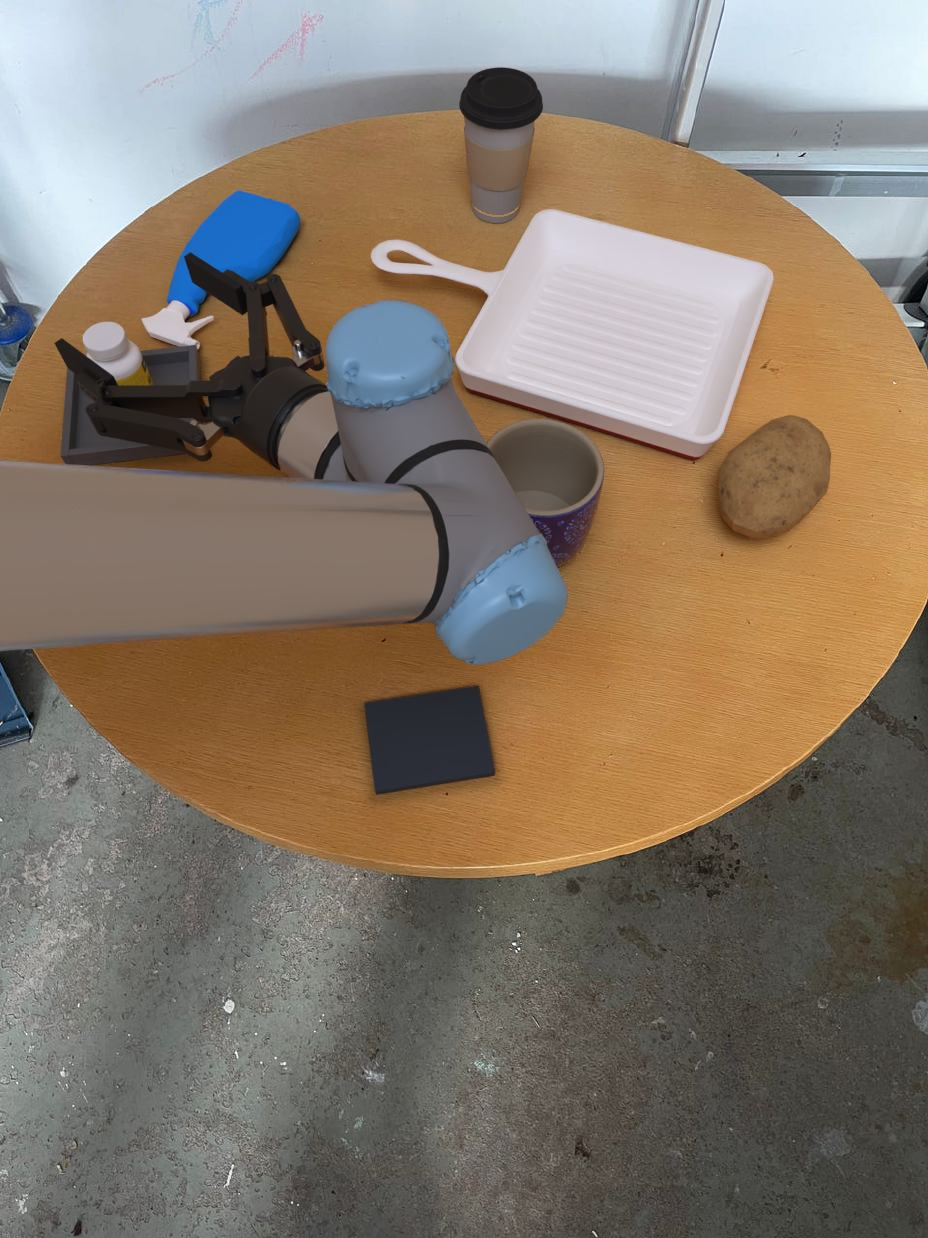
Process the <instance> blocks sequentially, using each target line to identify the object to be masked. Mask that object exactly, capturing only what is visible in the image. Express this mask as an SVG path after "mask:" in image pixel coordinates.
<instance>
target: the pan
mask: <svg viewBox="0 0 928 1238" xmlns="http://www.w3.org/2000/svg"><path fill="white" fill-rule="evenodd" d="M395 251H402V252H405V253H407V254H409V255H411V256H412V257H414V258H416V259H418V260H420V261H421V262H423V263H426V264H421V263H420V264H419V263H408V262H407V263H406V262H396V261H392V260H390V259H389V258H388V254H389V253H391V252H395ZM370 258H371V262H372V263H373V264H374V265H375V267H377V268H379V269H380V270H383V271H385V272H388V273H390V274H391V273H392V274H396V275H415V276H416V275H417V276H430V277H431V276H433V277H437V278H441V279H446V280H450V281H453V282H457V283H460V284H464V285H467V286H471V287H475V288H478V289H480V290H481V291H483V292H484V294H485V295H487V298H486V299H485V302H484V304H483V306H482V307H481V309H480V310H479V312H478V313H477V316H476V318H475V320H474V321H473V324H471V326H470V328H469V330H468V332H467V334H466V335H465V337H464V338H463V341H462V343H461V344H460V346H459V348H458V349H457V352H456V353H455V358H454V363H455V366H456V368H457V370H458V373H459V376H460V378H461V381H462V384H463V386H464V388H465V389H466V390H467V392H468V393H470V394H474V395H478V396H481V397H484V398H487V399H491V400H494V401H497V402H501V403H504V404H508V405H511V406H514V407H517V408H521V409H525V410H528V411H530V412H531V411H532V412H534V413H538V414H541V415H544V416H548V417H551V418H555V419H558V420H561V421H565V422H568V423H571V424H575V425H578V426H581V427H585V428H588V429H591V430H595V431H597V432H601V433H604V434H608V435H610V436H614V437H616V438H620V439H623V440H626V441H630V442H633V443H636V444H640V445H643V446H645V447H649V448H652V449H656V450H659V451H662V452H665V453H669V454H671V455H674V456H679V457H681V458H685V459H687V460H690V461H696V460H699V459H700V458H702V457H703V456H704V455H705V454H706V453H707V452H708V451H710V449H711V448H712V447H713V446H715V444H716V443H717V441H719V439H720V438H721V437H722V436H723V435H724V433H725V430H726V426H727V423H728V420H729V417H730V415H731V412H732V408H733V405H734V403H735V401H736V400H735V399H736V396H737V393H738V390H739V387H740V384H741V381H742V378H743V375H744V372H745V369H746V366H747V363H748V360H749V357H750V354H751V351H752V349H753V345H754V342H755V340H756V339H755V338H756V337H757V333H758V329H759V327H760V323H761V321H762V317H763V315H764V311H765V308H766V306H767V302H768V299H769V297H770V293H771V291H772V287H773V285H774V280H775V278H774V277H775V276H774V273H773V271H772V270H771V268H769V267H768V266H767V265H766V264H764V263H762V262H760V261H756V260H751V259H749V258H744V257H740V256H736V255H732V254H729V253H726V252H725V253H724V252H722V251H717V250H713V249H710V248H705V247H702V246H698V245H695V244H690V243H687V242H683V241H679V240H675V239H670V238H667V237H663V236H659V235H655V234H651V233H649V232H644V231H640V230H637V229H632V228H628V227H625V226H621V225H617V224H615V223H614V224H613V223H611V222H605V221H602V220H598V219H594V218H590V217H586V216H582V215H579V214H575V213H571V212H567V211H563V210H560V209H556V208H555V209H554V208H547V209H543V210H540V211H538V212H537V213H536V214H534V215H533V216H532V219H531V220H530V222H529V224H528V225H527V227H526V229H525V231H524V232H523V234H522V236H521V238H520V240H519V241H518V242H517V245H516V247H515V248H514V251H512V253H511V256H510V257H509V259H508V261H507V262H506V265H504V268H503V269H502V270H498V271H483V270H480V269H476V268H472V267H469V266H465V265H462V264H459V263H454V262H451V261H448V260H446V259H442V258H440V257H438V256H436V255H435V254H433V253H431V252H429V251H428V250H426V249H424V248H423V247H421V246H420V245H418V244H416V243H414V242H410V241H408V240H405V239H398V238H397V239H396V238H395V239H387V240H385V241H381V242H379V243H378V244H377V245H375V246H374V248H372V250H371V253H370Z"/></svg>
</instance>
